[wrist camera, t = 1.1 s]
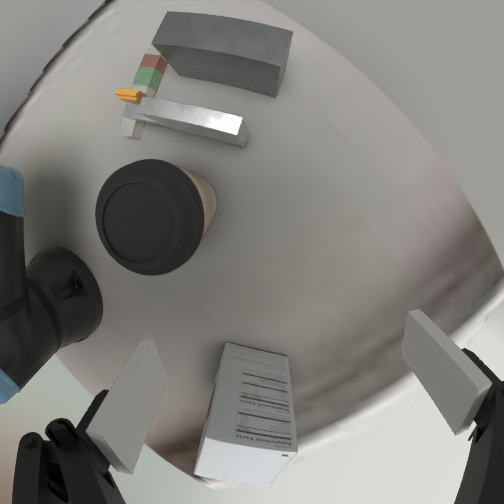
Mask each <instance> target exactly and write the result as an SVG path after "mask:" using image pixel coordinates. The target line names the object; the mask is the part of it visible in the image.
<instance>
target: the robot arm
mask: <svg viewBox="0 0 504 504" xmlns="http://www.w3.org/2000/svg"><path fill="white" fill-rule="evenodd" d="M24 217H25V211H24V183H23V178H22V176H21V174H20V173H19V172H18V171H17V170H15V169H13V168H9V167H2V166H0V404H3V403H6V402H7V401H8V400H9V399H10V398H11V397H13V396H14V395H15V394H16V393H19V392H20V391H21V389H22V388H23V387H24V386H25V385H26V383H27V382H28V381H29V380H30V379H31V378H32V377H33V376H34V374H36V373H37V372H38V370H39V369H40V368H41V367H42V366H43V365H44V364H45V363H46V362H47V361H48V360H49V359H50V358H51V357H52V356H53V355H54V354H55V353H56V352H57V351H58V350H59V349H60V348H63V347H65V346H68V345H70V344H71V343H75V342H80V341H83V340H85V339H86V338H88V337H89V336H90V335H91V334H92V333H93V332H94V331H95V330H96V329H97V327H98V326H99V324H100V321H101V317H102V300H101V295H100V291H99V288H98V286H97V283H96V281H95V279H94V277H93V275H92V274H91V272H90V270H89V269H88V268H87V266H86V265H85V264H84V263H83V262H82V261H81V260H80V259H79V258H78V257H77V256H76V255H75V254H73V253H72V252H70V251H68V250H66V249H63V248H58V247H54V248H49V249H47V250H45V251H42V252H40V253H38V254H37V255H36V256H34V257H33V259H32V260H31V261H30V263H29V265H28V266H27V267H25V253H24ZM401 355H402V356H403V358H404V359H405V361H406V362H407V363H408V365H409V366H410V368H411V369H412V371H413V372H414V373H415V375H416V376H417V378H418V379H419V381H420V382H421V384H422V385H423V386H424V388H425V389H426V391H427V392H428V394H429V395H430V397H431V398H432V400H433V401H434V403H435V404H436V406H437V407H438V409H439V411H440V412H441V413H442V415H443V417H444V418H445V420H446V421H447V423H448V425H449V426H450V428H451V429H452V431H453V432H454V434H455V435H458V434H460V433H462V432H463V431H466V430H468V429H469V427H470V426H471V424H472V422H473V420H474V421H475V422H476V424H477V425H476V427H475V429H474V430H473V432H472V434H471V435H470V437H469V439H468V441H470V440H471V438H472V437H473V439H472V444H471V448H470V453H469V457H468V461H467V465H466V468H465V472H464V475H463V479H462V482H461V485H460V488H459V491H458V494H457V497H456V500H455V502H454V504H504V381H501V380H499V378H498V377H497V376H496V375H495V374H494V373H493V372H492V371H491V370H490V369H489V368H488V367H487V366H486V365H484V363H483V362H482V361H481V360H479V358H478V357H477V356H476V355H475V354H474V353H473V352H471V351H469V350H468V349H466V348H464V349H460V348H459V347H458V346H457V345H456V344H455V343H454V342H453V341H452V340H451V339H450V338H449V337H448V336H447V335H446V334H445V333H444V332H443V331H442V330H441V329H440V328H439V327H438V326H437V325H436V324H435V323H434V322H432V321H431V320H430V319H429V318H428V317H427V316H426V315H425V314H424V313H423V312H422V311H421V310H420V309H417V310H413V311H408V313H407V320H406V327H405V333H404V339H403V345H402V350H401ZM167 381H168V378H167V376H166V373H165V370H164V367H163V364H162V361H161V358H160V355H159V352H158V349H157V346H156V343H155V340H154V339H141V341H140V342H139V344H138V345H137V347H136V349H135V350H134V352H133V353H132V355H131V356H130V358H129V360H128V361H127V363H126V364H125V366H124V368H123V369H122V371H121V372H120V374H119V376H118V377H117V379H116V381H115V382H114V384H113V386H112V387H111V389H110V390H103V391H101V392H100V393H99V394H98V395H96V397H95V398H94V400H93V402H92V403H91V405H90V406H89V408H88V411H86V413H85V414H84V416H83V418H82V419H81V421H80V422H79V424H78V426H77V427H76V429H75V427H74V426H73V424H72V423H71V421H69V420H68V419H64V418H59V419H55V420H53V421H51V422H50V423H49V424H48V425H47V427H46V429H45V434H46V435H47V437H48V438H49V439H50V441H45V440H43V439H42V437H41V436H40V435H39V434H38V433H36V432H30V433H27V434H26V435H24V436H23V437H22V438H21V440H20V442H19V447H18V453H17V459H16V466H15V474H14V483H13V494H12V504H126V503H125V501H124V499H123V497H122V495H121V493H120V491H119V489H118V487H117V485H116V483H115V481H114V479H113V477H112V475H111V473H110V472H109V470H108V468H109V466H110V464H111V465H112V466H113V468H114V469H115V470H116V471H119V472H123V473H127V474H132V473H133V471H134V468H135V465H136V463H137V460H138V457H139V454H140V452H141V449H142V446H143V443H144V441H145V438H146V435H147V433H148V430H149V427H150V425H151V422H152V420H153V417H154V414H155V412H156V409H157V406H158V404H159V401H160V399H161V396H162V394H163V391H164V389H165V386H166V383H167Z"/></svg>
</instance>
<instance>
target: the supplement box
mask: <svg viewBox="0 0 504 504" xmlns="http://www.w3.org/2000/svg"><path fill="white" fill-rule="evenodd" d="M297 452H298V449H297V438H296V428H295V418H294V409H293V399H292V390H291V380H290V371H289V362H288V357H287V356H283V355H278V354H273V353H269V352H264V351H260V350H256V349H251V348H247V347H243V346H239V345H235V344H231V343H228V342H226V343H225V346H224V350H223V353H222V356H221V360H220V363H219V367H218V370H217V374H216V377H215V381H214V385H213V390H212V395H211V399H210V403H209V408H208V412H207V416H206V420H205V424H204V428H203V433H202V437H201V442H200V446H199V451H198V455H197V460H196V465H195V469H194V474H196V475H199V476H203V477H207V478H212V479H217V480H223V481H229V482H235V483H241V484H247V485H256V486H266V487H269V486H270V485H271V484H272V483H273V481H274V480H275V479H276V478H277V476H278V475H279V474H280V472H281V471H282V470H283V469H284V467H285V466H286V465H287V464H288V463H289V462H290V460H291V459H292V458H293V457H294V456H295V455H296V454H297Z"/></svg>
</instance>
